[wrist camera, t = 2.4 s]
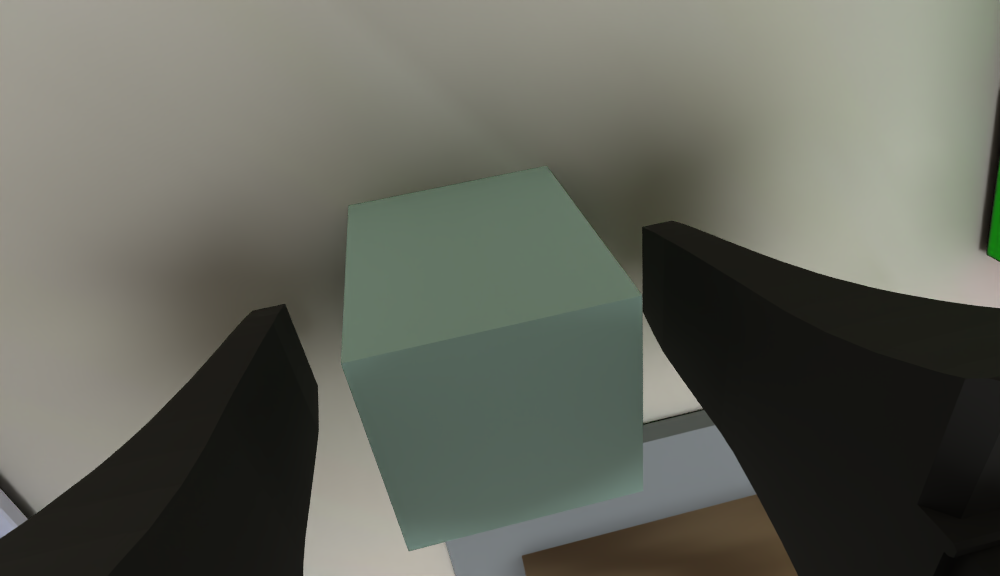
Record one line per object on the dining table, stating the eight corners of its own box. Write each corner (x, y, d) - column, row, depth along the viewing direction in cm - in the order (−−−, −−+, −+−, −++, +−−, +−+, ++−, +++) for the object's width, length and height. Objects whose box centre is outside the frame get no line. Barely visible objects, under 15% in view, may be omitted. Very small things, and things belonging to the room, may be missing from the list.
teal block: (395, 360, 14) (408, 551, 10) (348, 204, 12) (340, 363, 8) (561, 323, 14) (643, 490, 10) (546, 165, 12) (642, 295, 8)
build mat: (491, 687, 23) (495, 705, 22) (429, 477, 16) (431, 495, 16) (789, 604, 24) (799, 619, 23) (843, 375, 17) (858, 389, 17)
